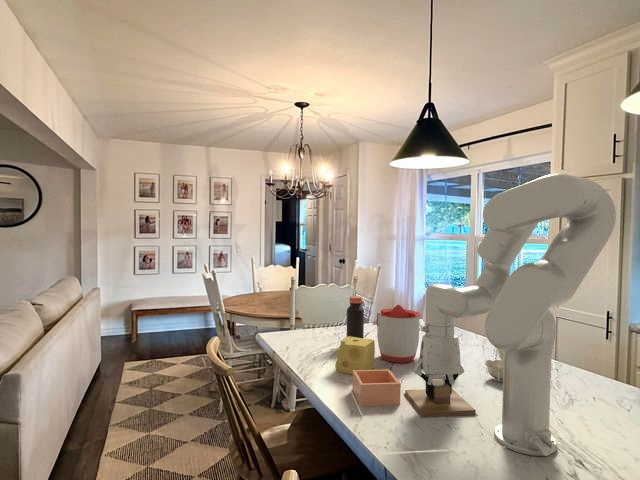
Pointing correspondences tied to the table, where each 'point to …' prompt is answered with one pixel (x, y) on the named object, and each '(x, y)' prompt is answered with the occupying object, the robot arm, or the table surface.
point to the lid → (439, 401)
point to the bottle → (355, 318)
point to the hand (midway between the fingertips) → (438, 396)
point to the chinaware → (496, 366)
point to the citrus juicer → (398, 334)
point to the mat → (434, 416)
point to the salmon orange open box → (376, 387)
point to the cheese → (355, 355)
